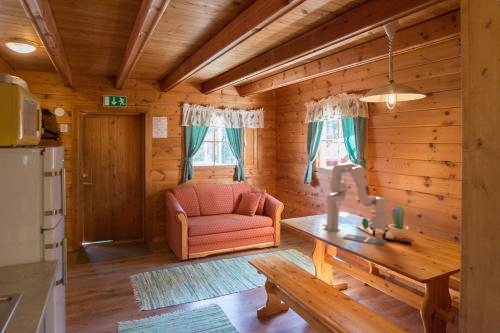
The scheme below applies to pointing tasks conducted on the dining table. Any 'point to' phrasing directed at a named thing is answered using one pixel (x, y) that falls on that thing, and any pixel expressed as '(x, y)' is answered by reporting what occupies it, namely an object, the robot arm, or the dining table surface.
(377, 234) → the ball
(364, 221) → the crank mechanism
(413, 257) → the dining table surface
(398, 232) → the potted cactus
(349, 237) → the mat
